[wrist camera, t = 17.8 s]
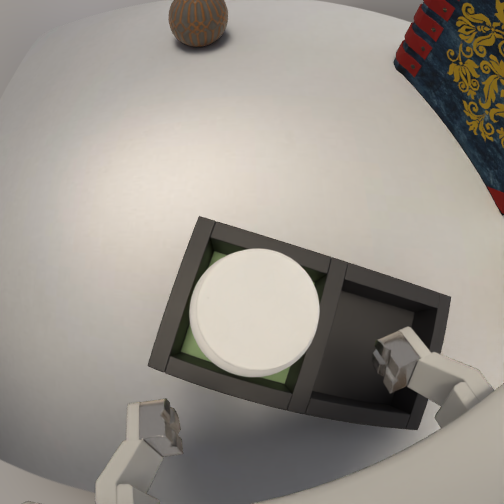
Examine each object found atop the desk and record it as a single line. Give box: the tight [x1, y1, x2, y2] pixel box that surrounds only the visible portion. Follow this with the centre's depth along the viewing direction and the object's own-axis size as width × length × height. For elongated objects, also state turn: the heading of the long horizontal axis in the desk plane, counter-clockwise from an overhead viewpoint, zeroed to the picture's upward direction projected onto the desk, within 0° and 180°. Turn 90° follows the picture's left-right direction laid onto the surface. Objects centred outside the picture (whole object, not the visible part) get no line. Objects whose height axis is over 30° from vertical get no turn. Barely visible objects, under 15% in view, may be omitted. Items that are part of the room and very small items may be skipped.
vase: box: [169, 0, 228, 47], centre depth 26 cm, size 7×7×9 cm
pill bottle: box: [189, 249, 320, 377], centre depth 16 cm, size 6×6×11 cm
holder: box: [148, 216, 451, 430], centre depth 20 cm, size 20×10×4 cm, turn 73°
